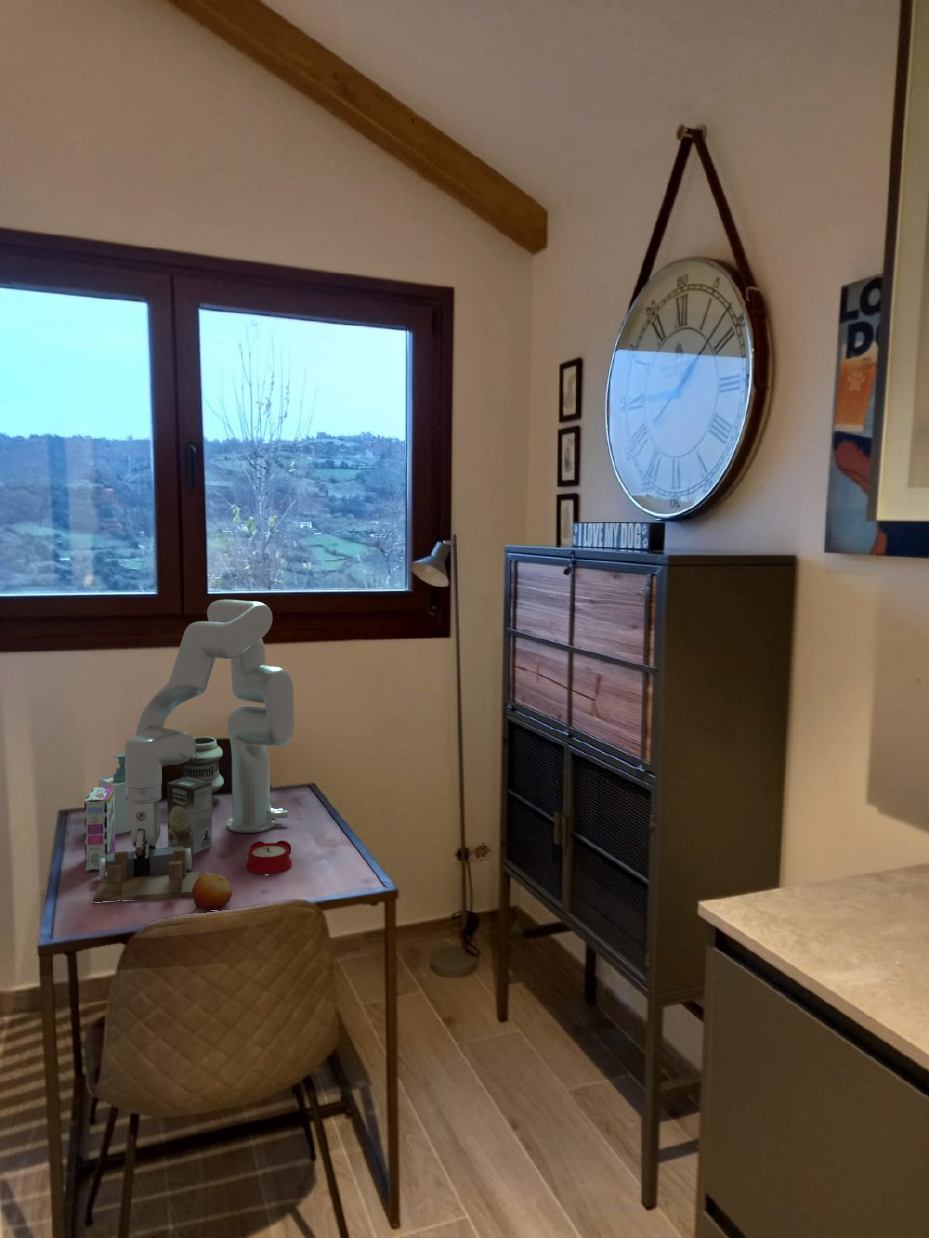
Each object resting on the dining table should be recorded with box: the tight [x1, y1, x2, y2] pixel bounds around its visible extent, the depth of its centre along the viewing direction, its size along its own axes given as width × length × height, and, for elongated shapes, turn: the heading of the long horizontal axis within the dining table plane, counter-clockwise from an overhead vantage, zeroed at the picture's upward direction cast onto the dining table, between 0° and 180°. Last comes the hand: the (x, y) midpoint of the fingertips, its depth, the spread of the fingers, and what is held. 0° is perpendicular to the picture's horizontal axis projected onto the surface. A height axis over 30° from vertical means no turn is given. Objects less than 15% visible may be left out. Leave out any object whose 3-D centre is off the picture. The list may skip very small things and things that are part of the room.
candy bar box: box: [83, 786, 116, 873], centre depth 196 cm, size 11×5×16 cm, turn 13°
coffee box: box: [166, 776, 213, 855], centre depth 207 cm, size 9×6×16 cm
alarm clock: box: [244, 840, 293, 875], centre depth 198 cm, size 10×6×15 cm
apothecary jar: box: [181, 736, 224, 807], centre depth 240 cm, size 12×12×18 cm
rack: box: [92, 848, 201, 903], centre depth 182 cm, size 20×10×7 cm, turn 102°
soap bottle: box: [98, 753, 131, 836], centre depth 219 cm, size 9×9×19 cm
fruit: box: [192, 872, 233, 913], centre depth 174 cm, size 8×8×8 cm
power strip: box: [98, 846, 193, 882], centre depth 190 cm, size 19×5×6 cm, turn 112°
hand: (145, 867), depth 191 cm, fingers open, 8 cm apart
